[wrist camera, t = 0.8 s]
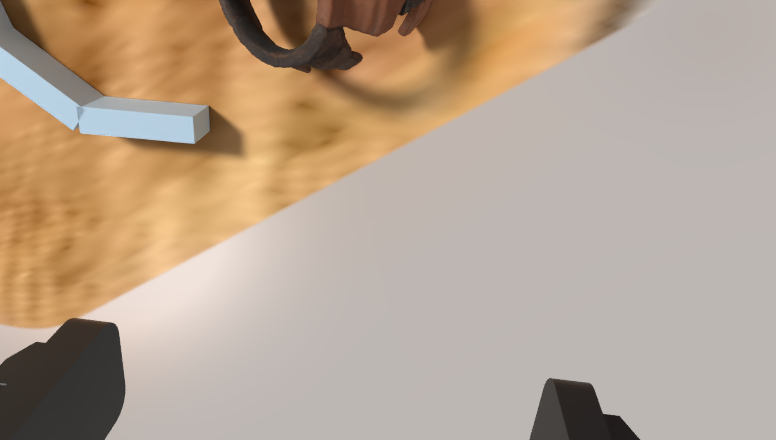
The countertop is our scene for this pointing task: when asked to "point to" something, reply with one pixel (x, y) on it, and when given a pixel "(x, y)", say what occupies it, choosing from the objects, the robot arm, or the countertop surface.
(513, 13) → the countertop surface
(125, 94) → the countertop surface
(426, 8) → the pottery mug
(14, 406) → the robot arm
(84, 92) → the collar
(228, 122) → the countertop surface
